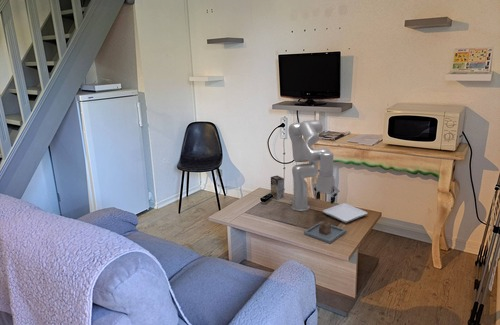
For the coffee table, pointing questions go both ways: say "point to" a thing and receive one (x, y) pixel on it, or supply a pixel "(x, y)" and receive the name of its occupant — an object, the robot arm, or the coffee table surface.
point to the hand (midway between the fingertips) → (325, 200)
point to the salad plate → (344, 212)
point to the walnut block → (324, 227)
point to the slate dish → (328, 238)
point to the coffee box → (277, 187)
